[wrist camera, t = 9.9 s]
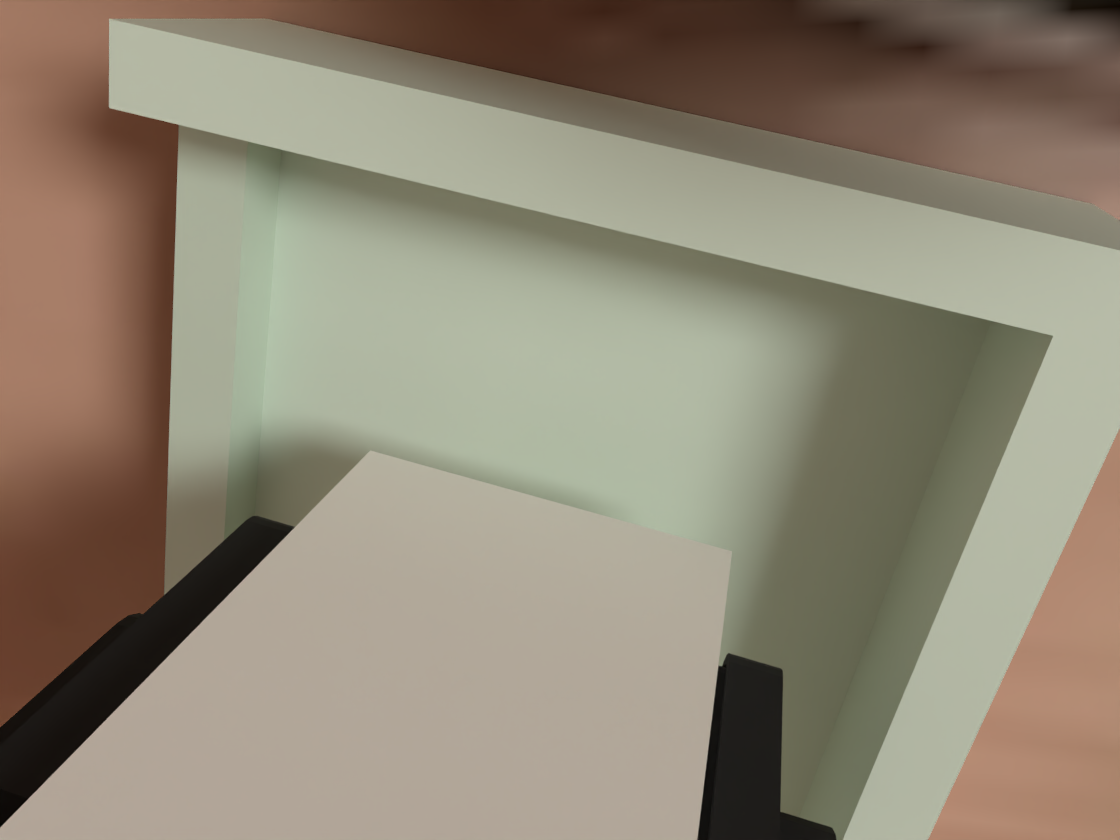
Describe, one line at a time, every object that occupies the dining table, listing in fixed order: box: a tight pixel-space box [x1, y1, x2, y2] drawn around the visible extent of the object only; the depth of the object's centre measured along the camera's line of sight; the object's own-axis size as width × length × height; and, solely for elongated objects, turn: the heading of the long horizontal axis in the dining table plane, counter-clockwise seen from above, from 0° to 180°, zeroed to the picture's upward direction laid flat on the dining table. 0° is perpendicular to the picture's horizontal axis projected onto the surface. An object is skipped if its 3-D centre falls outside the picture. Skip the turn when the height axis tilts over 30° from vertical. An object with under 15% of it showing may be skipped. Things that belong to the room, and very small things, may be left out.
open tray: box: [109, 19, 1120, 840], centre depth 12 cm, size 12×10×3 cm
